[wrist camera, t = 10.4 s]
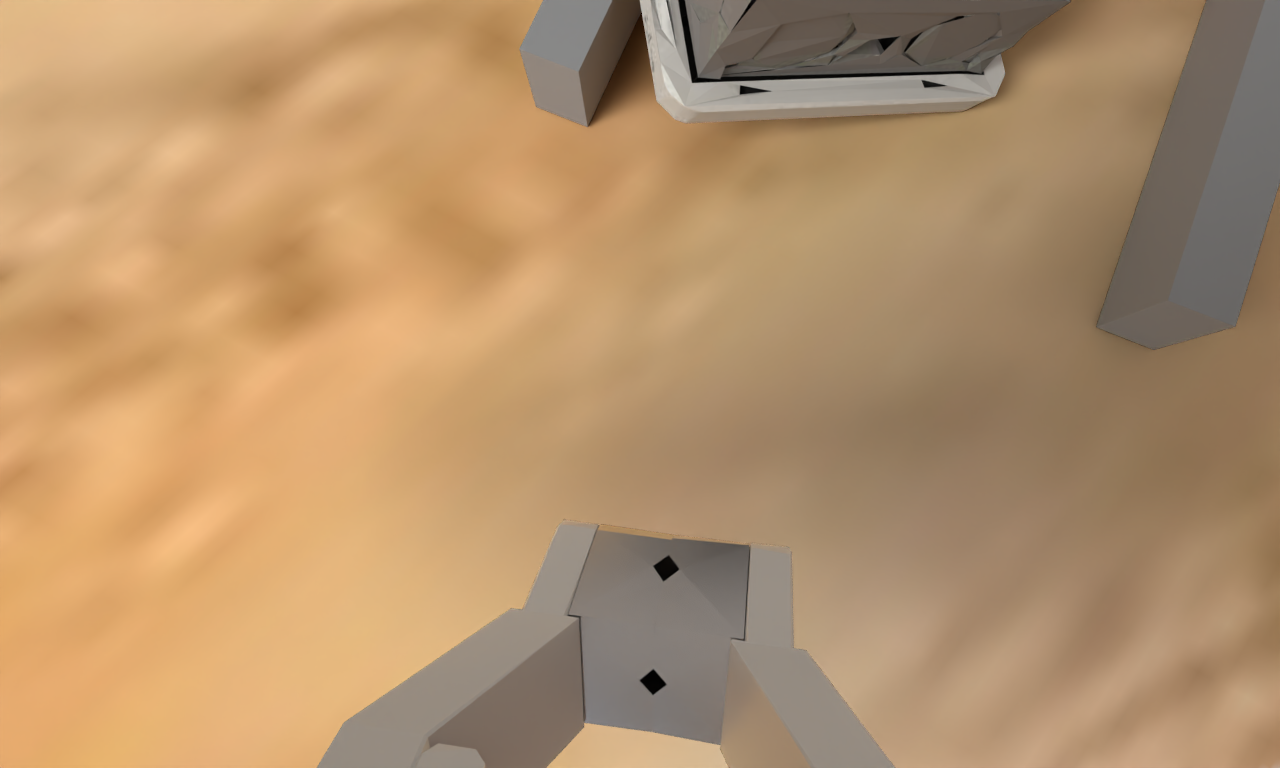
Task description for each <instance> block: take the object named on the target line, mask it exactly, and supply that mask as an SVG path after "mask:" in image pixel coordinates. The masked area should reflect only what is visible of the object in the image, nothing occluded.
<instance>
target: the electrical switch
mask: <svg viewBox="0 0 1280 768" xmlns="http://www.w3.org/2000/svg"><path fill="white" fill-rule="evenodd" d="M1070 2H1071V1H1070V0H640V5H641V11H642V17H643V23H644V29H645V35H646V41H647V47H648V53H649V59H650V65H651V71H652V77H653V83H654V89H655V95H656V101H657V102H658V103H659V104H660V105H661V106H662V107H663V108H664V109H665V110H666V111H667V112H668V113H669V114H670V115H671V116H672V117H673V118H674V119H675V120H678V121H680V122H683V123H705V122H728V121H750V120H773V119H796V118H819V117H841V116H864V115H887V114H909V113H932V112H955V111H965V110H967V109H969V108H971V107H973V106H975V105H977V104H979V103H981V102H983V101H985V100H987V99H990V98H992V97H995V96H996V94H997V92H998V89H999V87H1000V85H1001V83H1002V80H1003V78H1004V76H1005V70H1004V65H1003V61H1002V57H1001V53H1002V52H1004V51H1006V50H1007V49H1009V48H1011V47H1013V46H1014V45H1015V44H1016V43H1017V42H1018V41H1019V40H1020V39H1021V38H1022V37H1023V36H1024V35H1025V34H1026V33H1027V32H1028V31H1029V30H1030V29H1032V28H1033V27H1035V26H1036V25H1038V24H1039V23H1041V22H1042V21H1044V20H1045V19H1046V18H1048V17H1049V16H1051V15H1052V14H1054V13H1055V12H1057V11H1058V10H1060V9H1061V8H1062V7H1064V6H1065V5H1067V4H1068V3H1070Z"/></svg>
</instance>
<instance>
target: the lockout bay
mask: <svg viewBox="0 0 1280 768" xmlns="http://www.w3.org/2000/svg"><path fill="white" fill-rule="evenodd" d="M640 14H641V5H640V0H543V2H542V4H541V6H540V8H539V10H538V12H537V14H536V16H535V18H534V20H533V22H532V24H531V26H530V28H529V30H528V33H527V35H526V37H525V39H524V41H523V43H522V45H521V47H520V52H521V56H522V59H523V63H524V66H525V70H526V73H527V77H528V80H529V84H530V87H531V91H532V94H533V98H534V101H535V104H536V107H538V108H540V109H543V110H545V111H548V112H551V113H553V114H556V115H558V116H561V117H563V118H566V119H568V120H571V121H573V122H576V123H579V124H581V125H584V126H586V127H588V125H589V123H590V121H591V119H592V116H593V114H594V112H595V110H596V108H597V106H598V104H599V101H600V99H601V97H602V95H603V93H604V91H605V89H606V86H607V84H608V82H609V80H610V78H611V76H612V74H613V71H614V69H615V67H616V65H617V63H618V61H619V59H620V56H621V54H622V52H623V50H624V48H625V46H626V44H627V41H628V39H629V37H630V35H631V33H632V31H633V29H634V26H635V24H636V22H637V20H638V18H639V16H640ZM1279 184H1280V0H1206V3H1205V6H1204V9H1203V12H1202V15H1201V18H1200V21H1199V24H1198V27H1197V30H1196V33H1195V36H1194V39H1193V42H1192V45H1191V48H1190V51H1189V54H1188V57H1187V59H1186V62H1185V65H1184V68H1183V71H1182V74H1181V77H1180V80H1179V83H1178V86H1177V89H1176V92H1175V95H1174V98H1173V101H1172V104H1171V107H1170V110H1169V113H1168V116H1167V119H1166V122H1165V125H1164V128H1163V130H1162V133H1161V136H1160V139H1159V142H1158V145H1157V148H1156V151H1155V154H1154V157H1153V160H1152V163H1151V166H1150V169H1149V172H1148V175H1147V178H1146V181H1145V184H1144V187H1143V190H1142V193H1141V196H1140V199H1139V202H1138V204H1137V207H1136V210H1135V213H1134V216H1133V219H1132V222H1131V225H1130V228H1129V231H1128V234H1127V237H1126V240H1125V243H1124V246H1123V249H1122V252H1121V255H1120V258H1119V261H1118V264H1117V267H1116V270H1115V273H1114V275H1113V278H1112V281H1111V284H1110V287H1109V290H1108V293H1107V296H1106V299H1105V302H1104V305H1103V308H1102V311H1101V314H1100V317H1099V320H1098V323H1097V326H1096V327H1097V328H1099V329H1102V330H1104V331H1107V332H1110V333H1112V334H1115V335H1117V336H1120V337H1122V338H1125V339H1127V340H1130V341H1132V342H1135V343H1138V344H1140V345H1143V346H1145V347H1148V348H1150V349H1153V350H1155V349H1159V348H1162V347H1166V346H1169V345H1173V344H1176V343H1180V342H1183V341H1187V340H1190V339H1194V338H1197V337H1201V336H1204V335H1208V334H1211V333H1215V332H1218V331H1222V330H1225V329H1229V328H1232V327H1235V326H1236V323H1237V320H1238V317H1239V313H1240V310H1241V307H1242V304H1243V300H1244V297H1245V294H1246V291H1247V287H1248V284H1249V281H1250V278H1251V274H1252V271H1253V268H1254V265H1255V261H1256V258H1257V255H1258V252H1259V248H1260V245H1261V242H1262V239H1263V235H1264V232H1265V229H1266V226H1267V222H1268V219H1269V216H1270V213H1271V210H1272V206H1273V203H1274V200H1275V197H1276V193H1277V190H1278V187H1279Z"/></svg>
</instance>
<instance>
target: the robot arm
mask: <svg viewBox="0 0 1280 768" xmlns="http://www.w3.org/2000/svg"><path fill="white" fill-rule="evenodd" d="M584 723H590V724H597V725H604V726H612V727H619V728H627V729H634V730H641V731H649V732H655V733H660V734H665V735H670V736H675V737H681V738H686V739H691V740H696V741H701V742H707V743H712V744H717V745H720V749H721V752H722V754H723V756H724V758H725V760H726V762H727V765H728V767H729V768H895V767H894V765H893V764H892V763H891V761H890V760H889V759H888V757H887V756H886V755H885V753H884V752H883V751H882V749H881V748H880V747H879V745H878V744H877V743H876V741H875V740H874V739H873V738H872V736H871V735H870V734H869V732H868V731H867V730H866V728H865V727H864V726H863V724H862V723H861V722H860V720H859V719H858V718H857V716H856V715H855V714H854V712H853V711H852V710H851V708H850V707H849V706H848V705H847V703H846V702H845V701H844V699H843V698H842V697H841V695H840V694H839V693H838V691H837V690H836V689H835V687H834V686H833V685H832V683H831V682H830V681H829V679H828V678H827V677H826V675H825V674H824V673H823V672H822V670H821V669H820V668H819V666H818V665H817V664H816V662H815V661H814V660H813V658H812V657H811V656H810V654H809V653H808V652H807V650H802V649H795V648H794V630H793V581H792V552H791V550H790V548H789V547H786V546H776V545H767V544H757V543H751V544H750V547H749V543H741V542H733V541H724V540H715V539H706V538H698V537H689V536H680V535H672V534H665V533H658V532H652V531H645V530H638V529H631V528H624V527H617V526H610V525H604V524H601V525H598V524H592V523H585V522H578V521H571V520H563V521H562V522H561V523H560V524H559V525H558V526H557V528H556V530H555V533H554V535H553V538H552V540H551V542H550V545H549V547H548V549H547V552H546V554H545V557H544V559H543V561H542V564H541V566H540V568H539V571H538V573H537V576H536V578H535V580H534V583H533V585H532V587H531V590H530V592H529V595H528V597H527V599H526V602H525V604H524V606H523V609H514V608H510V609H509V610H508V611H506V612H505V613H503V614H502V615H500V616H499V617H497V618H496V619H494V620H493V621H491V622H490V623H489V624H487V625H486V626H484V627H483V628H481V629H480V630H478V631H477V632H475V633H474V634H472V635H471V636H470V637H468V638H467V639H465V640H464V641H462V642H461V643H459V644H458V645H456V646H455V647H454V648H452V649H451V650H449V651H448V652H446V653H445V654H443V655H442V656H440V657H439V658H437V659H436V660H435V661H433V662H432V663H430V664H429V665H427V666H426V667H424V668H423V669H421V670H420V671H418V672H417V673H416V674H414V675H413V676H411V677H410V678H408V679H407V680H405V681H404V682H402V683H401V684H399V685H398V686H397V687H395V688H394V689H392V690H391V691H389V692H388V693H386V694H385V695H383V696H382V697H380V698H379V699H378V700H376V701H375V702H373V703H372V704H370V705H369V706H367V707H366V708H364V709H363V710H362V711H360V712H359V713H357V714H356V715H354V716H353V717H351V718H350V719H348V720H347V721H345V722H344V723H343V725H342V727H341V728H340V730H339V732H338V733H337V735H336V737H335V738H334V740H333V742H332V743H331V745H330V747H329V748H328V750H327V752H326V753H325V755H324V757H323V758H322V760H321V762H320V763H319V765H318V767H317V768H546V767H547V766H548V765H549V764H550V763H551V762H552V761H553V760H554V759H555V758H556V757H557V756H558V754H559V753H560V752H561V751H562V750H563V749H564V748H565V747H566V746H567V745H568V744H569V743H570V742H571V741H572V739H573V738H574V737H575V736H576V735H577V734H578V733H579V732H580V731H581V730H582V729H583V728H584Z"/></svg>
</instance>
